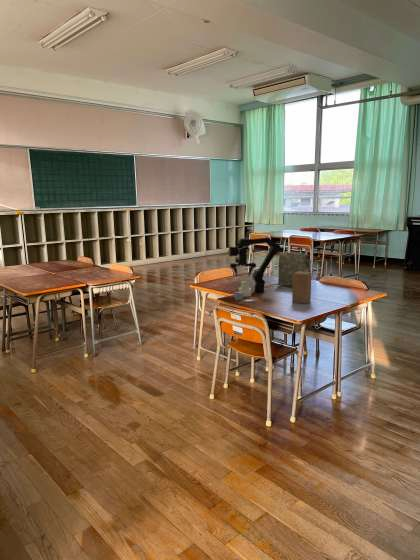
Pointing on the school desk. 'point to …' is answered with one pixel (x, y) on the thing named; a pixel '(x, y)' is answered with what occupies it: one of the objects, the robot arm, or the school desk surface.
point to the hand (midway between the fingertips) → (242, 276)
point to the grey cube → (238, 295)
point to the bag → (291, 266)
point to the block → (301, 287)
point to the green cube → (244, 285)
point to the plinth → (246, 292)
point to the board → (249, 300)
